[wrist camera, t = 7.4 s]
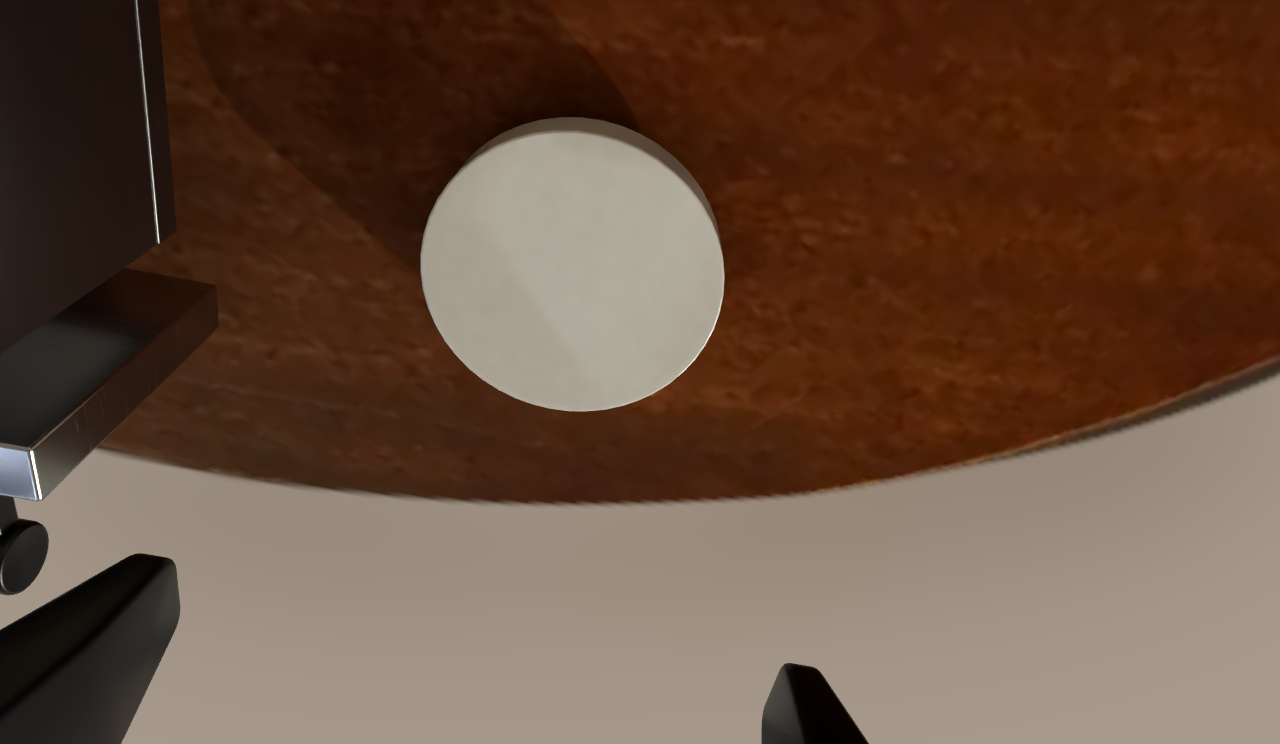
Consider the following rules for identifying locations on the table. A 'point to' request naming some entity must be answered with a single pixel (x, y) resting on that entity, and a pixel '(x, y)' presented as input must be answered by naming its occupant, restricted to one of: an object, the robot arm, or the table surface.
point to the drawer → (81, 246)
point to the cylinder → (573, 264)
